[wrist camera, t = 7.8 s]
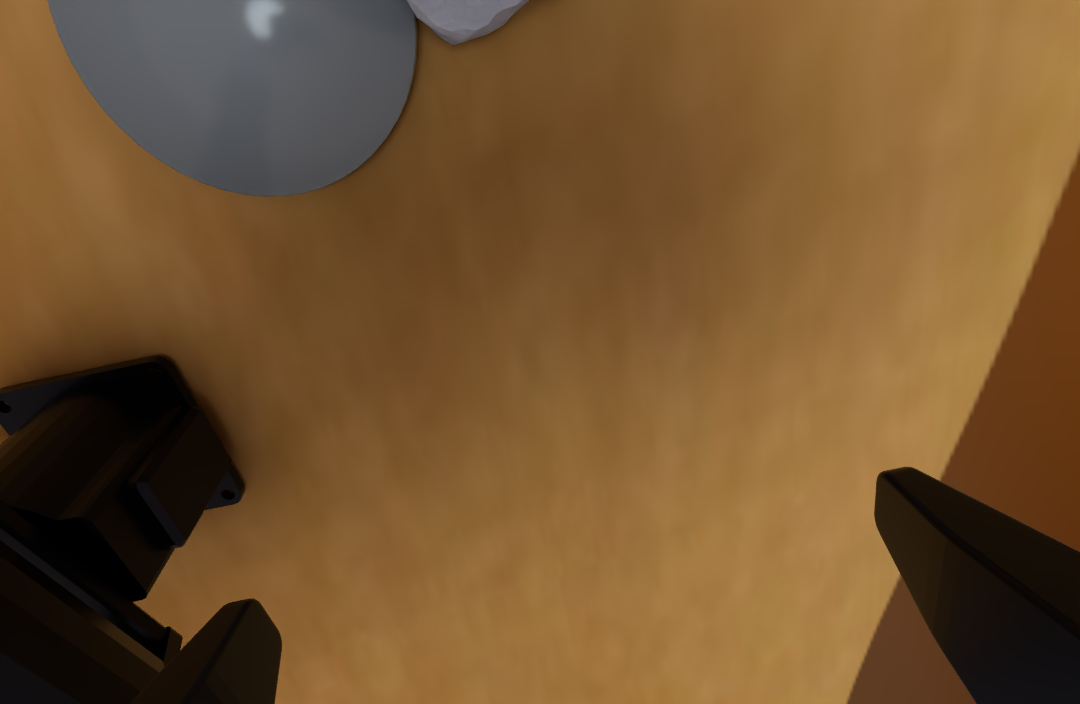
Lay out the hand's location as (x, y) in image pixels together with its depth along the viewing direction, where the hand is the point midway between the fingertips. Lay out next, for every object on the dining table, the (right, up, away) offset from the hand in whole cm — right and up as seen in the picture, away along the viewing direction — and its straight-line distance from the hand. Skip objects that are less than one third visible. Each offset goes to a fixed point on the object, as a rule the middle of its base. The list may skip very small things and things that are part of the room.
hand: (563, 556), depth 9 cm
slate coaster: (-8, +12, +8) cm, 16 cm away
